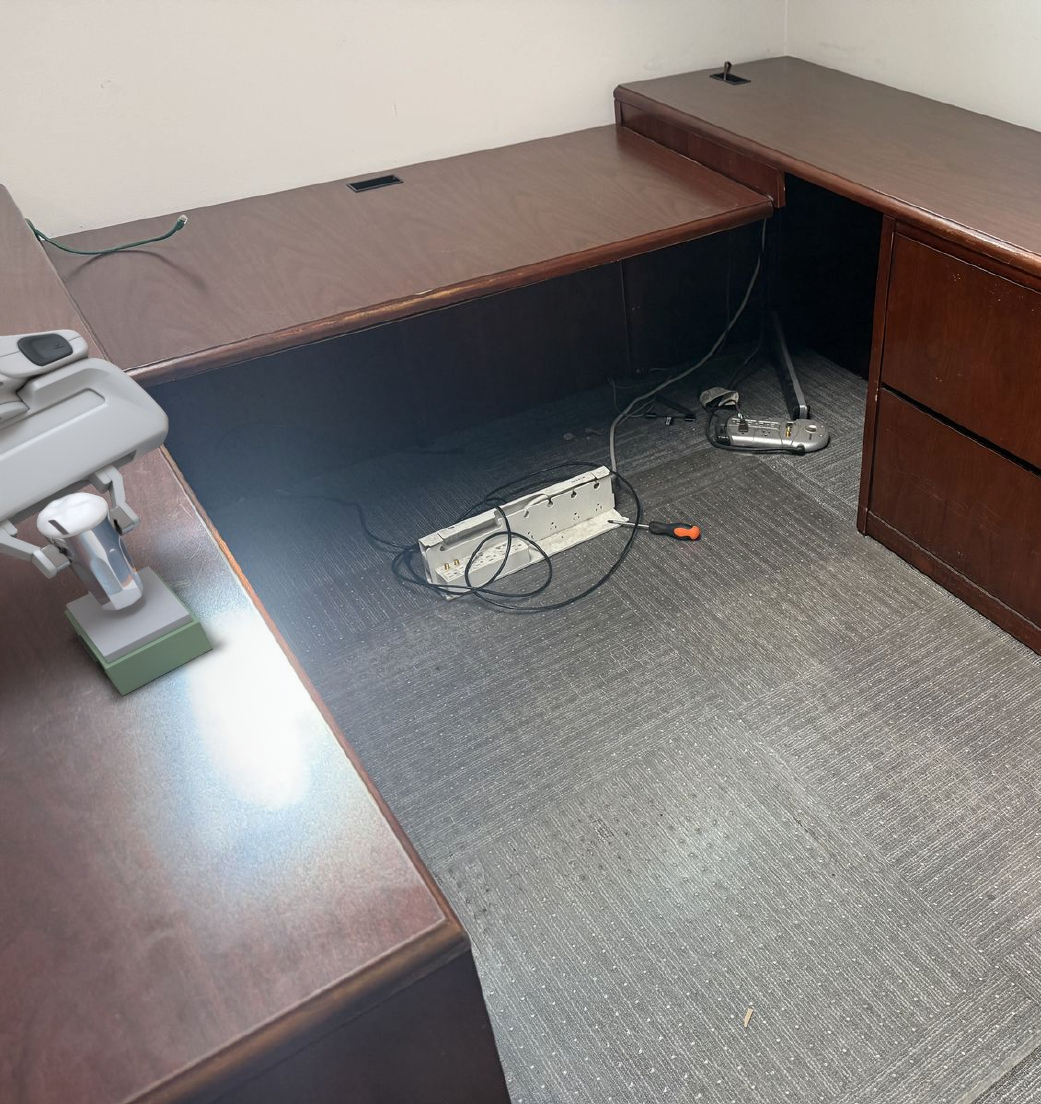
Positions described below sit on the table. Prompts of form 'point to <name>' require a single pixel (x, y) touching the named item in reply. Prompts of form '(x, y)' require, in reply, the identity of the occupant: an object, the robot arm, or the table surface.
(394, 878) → the table surface
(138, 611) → the scale
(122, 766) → the table surface
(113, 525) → the milkshake
